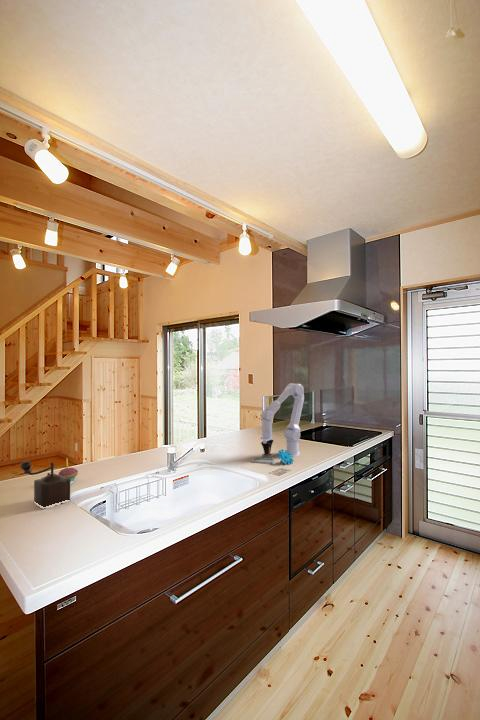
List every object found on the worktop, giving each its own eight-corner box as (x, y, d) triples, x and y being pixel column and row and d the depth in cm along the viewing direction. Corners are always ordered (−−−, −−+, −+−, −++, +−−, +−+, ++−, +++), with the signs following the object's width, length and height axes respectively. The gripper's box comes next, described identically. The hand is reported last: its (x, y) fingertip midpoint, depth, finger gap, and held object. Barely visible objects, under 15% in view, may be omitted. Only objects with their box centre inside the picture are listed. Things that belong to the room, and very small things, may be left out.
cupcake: (55, 483, 163) (55, 458, 164) (73, 478, 170) (73, 454, 170) (62, 487, 158) (62, 461, 158) (81, 482, 164) (81, 457, 164)
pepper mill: (59, 495, 148) (59, 453, 148) (71, 501, 141) (71, 457, 141) (18, 507, 136) (18, 461, 136) (29, 514, 129) (29, 466, 129)
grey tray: (255, 459, 203) (255, 457, 203) (274, 460, 199) (274, 458, 199) (251, 462, 195) (251, 460, 195) (271, 464, 191) (271, 462, 191)
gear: (283, 464, 186) (276, 448, 193) (277, 470, 189) (270, 454, 196) (298, 463, 192) (291, 448, 199) (292, 469, 195) (285, 454, 202)
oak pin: (265, 456, 207) (265, 446, 207) (270, 456, 206) (270, 446, 206) (264, 457, 204) (264, 447, 204) (269, 458, 203) (269, 447, 203)
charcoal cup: (263, 456, 209) (263, 453, 209) (273, 457, 207) (273, 453, 207) (261, 458, 203) (261, 455, 203) (271, 459, 201) (271, 456, 201)
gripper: (263, 427, 214) (263, 449, 213) (257, 432, 200) (257, 455, 200) (274, 428, 211) (275, 450, 211) (269, 432, 198) (269, 456, 197)
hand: (267, 453), depth 205 cm, fingers open, 5 cm apart
